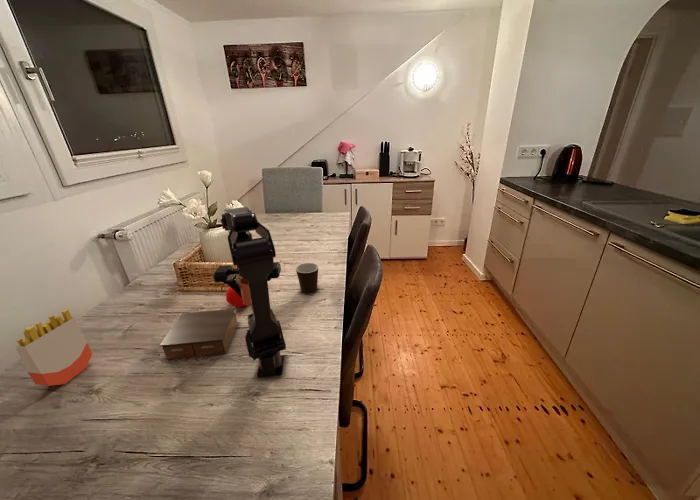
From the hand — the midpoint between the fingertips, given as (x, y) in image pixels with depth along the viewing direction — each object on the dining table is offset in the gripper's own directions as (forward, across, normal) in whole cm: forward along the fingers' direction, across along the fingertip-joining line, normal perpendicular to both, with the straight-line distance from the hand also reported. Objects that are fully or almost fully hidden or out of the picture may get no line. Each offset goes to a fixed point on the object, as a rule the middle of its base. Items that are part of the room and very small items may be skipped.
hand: (252, 295), depth 88 cm
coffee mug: (+12, -16, -22) cm, 29 cm away
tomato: (+12, +8, -14) cm, 20 cm away
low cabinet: (+12, +15, +5) cm, 20 cm away
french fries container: (+12, +47, +15) cm, 51 cm away
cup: (+2, 0, 0) cm, 2 cm away
